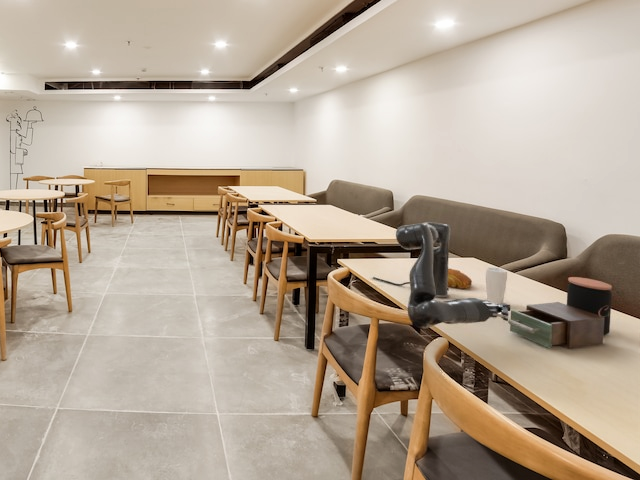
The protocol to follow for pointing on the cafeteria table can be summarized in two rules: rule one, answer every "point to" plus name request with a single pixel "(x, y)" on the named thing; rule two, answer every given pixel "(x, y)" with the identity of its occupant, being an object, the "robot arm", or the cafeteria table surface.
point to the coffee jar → (591, 297)
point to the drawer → (538, 327)
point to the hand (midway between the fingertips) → (507, 306)
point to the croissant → (458, 279)
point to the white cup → (495, 284)
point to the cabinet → (575, 324)
